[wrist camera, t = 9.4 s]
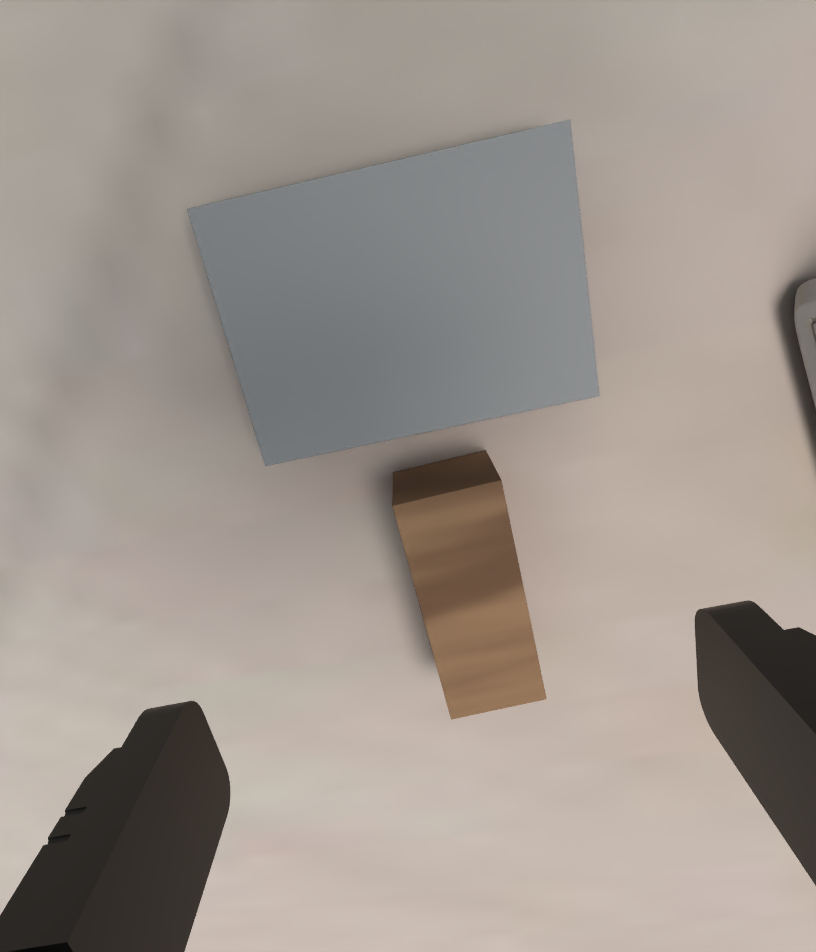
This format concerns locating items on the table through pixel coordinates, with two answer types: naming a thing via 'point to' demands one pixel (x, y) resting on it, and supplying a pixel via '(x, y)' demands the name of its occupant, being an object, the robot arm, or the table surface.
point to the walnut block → (468, 583)
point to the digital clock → (807, 329)
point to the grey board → (405, 294)
